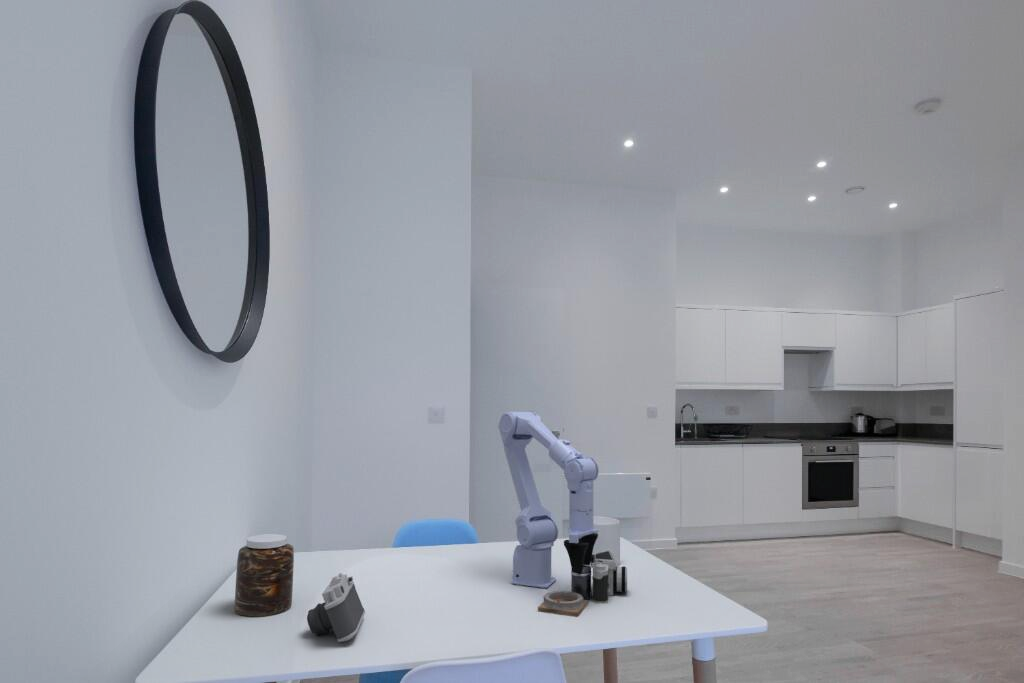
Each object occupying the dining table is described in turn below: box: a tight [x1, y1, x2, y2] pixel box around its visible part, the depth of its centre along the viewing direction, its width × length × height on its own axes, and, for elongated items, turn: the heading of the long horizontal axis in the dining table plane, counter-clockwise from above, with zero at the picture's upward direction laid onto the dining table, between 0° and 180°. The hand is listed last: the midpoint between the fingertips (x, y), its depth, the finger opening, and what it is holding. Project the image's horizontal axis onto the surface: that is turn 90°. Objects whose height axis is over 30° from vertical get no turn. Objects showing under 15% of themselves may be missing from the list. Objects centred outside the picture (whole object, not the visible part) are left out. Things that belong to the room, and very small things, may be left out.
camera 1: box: [306, 572, 366, 643], centre depth 121 cm, size 9×16×10 cm, turn 9°
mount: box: [537, 590, 589, 617], centre depth 136 cm, size 9×9×2 cm
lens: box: [570, 565, 592, 602], centre depth 143 cm, size 5×5×7 cm
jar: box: [234, 533, 295, 618], centre depth 134 cm, size 12×12×15 cm
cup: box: [586, 516, 621, 568], centre depth 176 cm, size 12×12×12 cm
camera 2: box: [591, 551, 628, 605], centre depth 147 cm, size 16×9×10 cm, turn 169°
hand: (581, 568), depth 144 cm, fingers open, 7 cm apart
